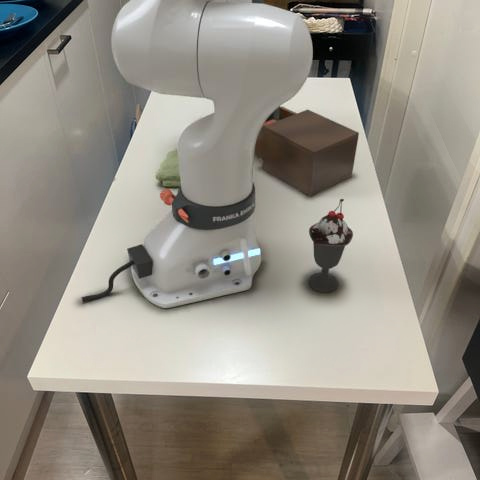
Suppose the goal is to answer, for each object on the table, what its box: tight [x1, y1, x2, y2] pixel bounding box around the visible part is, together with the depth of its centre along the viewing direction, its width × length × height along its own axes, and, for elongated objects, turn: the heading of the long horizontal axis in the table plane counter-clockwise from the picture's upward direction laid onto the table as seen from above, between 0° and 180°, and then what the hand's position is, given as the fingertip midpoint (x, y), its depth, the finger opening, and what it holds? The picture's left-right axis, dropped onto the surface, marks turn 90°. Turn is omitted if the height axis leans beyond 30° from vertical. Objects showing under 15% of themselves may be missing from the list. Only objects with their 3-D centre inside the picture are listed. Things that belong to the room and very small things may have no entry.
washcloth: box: [155, 149, 181, 188], centre depth 106 cm, size 13×18×3 cm
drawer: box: [254, 106, 297, 160], centre depth 110 cm, size 18×11×8 cm, turn 39°
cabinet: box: [262, 109, 360, 197], centre depth 104 cm, size 15×13×10 cm
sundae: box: [308, 198, 354, 293], centre depth 77 cm, size 7×7×15 cm
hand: (233, 108), depth 117 cm, fingers closed
